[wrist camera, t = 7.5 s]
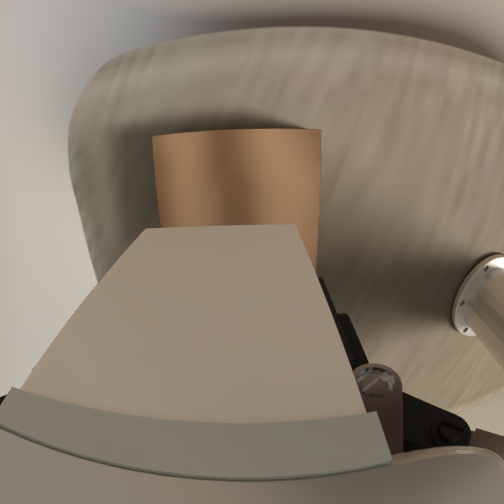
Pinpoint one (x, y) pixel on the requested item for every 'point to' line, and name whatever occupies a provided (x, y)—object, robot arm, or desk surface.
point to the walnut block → (240, 179)
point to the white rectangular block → (203, 365)
